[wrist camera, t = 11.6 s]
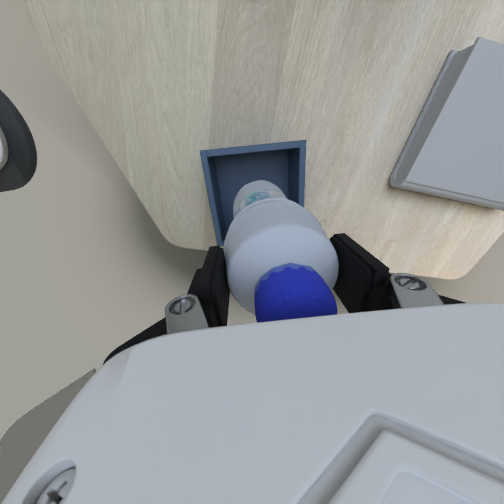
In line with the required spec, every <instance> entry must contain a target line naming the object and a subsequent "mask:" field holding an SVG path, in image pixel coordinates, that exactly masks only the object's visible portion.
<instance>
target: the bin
mask: <svg viewBox="0 0 504 504" xmlns="http://www.w3.org/2000/svg"><path fill="white" fill-rule="evenodd" d="M200 155H201V160H202V166H203V171H204V176H205V182H206V187H207V192H208V197H209V203H210V208H211V213H212V218H213V224H214V229H215V234H216V239H217V245H218V246H224V243H225V238H226V235H227V232H228V230H229V227H230V225H231V223H232V221H233V220H234V214H233V206H234V201H235V198H236V196H237V194H238V192H239V191H240V189H241V188H242V187H243V186H244V185H246V184H248V183H251V182H253V181H258V180H264V181H268V182H271V183H272V184H274V185H276V186H277V187H278V188H279V189H280V190H281V191H282V192H283V193H284V195H285V196H286V198H287V199H288V200H291V201H293V202H295V203H297V204H299V205H300V206H302V207H304V187H305V158H306V140H300V141H290V142H280V143H270V144H261V145H251V146H241V147H231V148H221V149H211V150H201V151H200Z"/></svg>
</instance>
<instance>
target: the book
mask: <svg viewBox="0 0 504 504" xmlns="http://www.w3.org/2000/svg"><path fill="white" fill-rule="evenodd" d="M390 185H391V186H393V187H396V188H401V189H406V190H410V191H415V192H420V193H424V194H429V195H433V196H438V197H443V198H447V199H452V200H457V201H461V202H466V203H470V204H475V205H480V206H484V207H489V208H494V209H498V210H503V211H504V45H502V44H499V43H497V42H494V41H491V40H488V39H485V38H482V37H478V38H477V39H476V41H475V43H474V45H472V46H470V47H468V48H466V49H464V50H462V51H456V50H452V51H450V53H449V55H448V57H447V60H446V62H445V64H444V66H443V68H442V70H441V72H440V74H439V76H438V78H437V80H436V82H435V84H434V87H433V89H432V91H431V93H430V95H429V97H428V99H427V101H426V103H425V105H424V107H423V109H422V111H421V113H420V116H419V118H418V120H417V122H416V124H415V126H414V128H413V130H412V132H411V134H410V136H409V138H408V140H407V143H406V145H405V147H404V149H403V151H402V153H401V155H400V157H399V159H398V161H397V163H396V165H395V167H394V169H393V172H392V174H391V176H390Z"/></svg>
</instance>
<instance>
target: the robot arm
mask: <svg viewBox="0 0 504 504" xmlns="http://www.w3.org/2000/svg"><path fill="white" fill-rule="evenodd" d="M7 159H8V145H7V141H6V138H5V135H4V133H3V131H2V129H1V127H0V170H1V169H2V168H3V167H4V166H5V164H6V162H7ZM330 242H331V243H332V245H333V247H334V249H335V251H336V254H337V257H338V263H339V269H338V277H337V280H336V283H335V285H334V287H333V290H334V291H335V293H336V294H337V296H338V297H339V299H340V300H341V302H342V303H343V305H344V306H345V308H346V309H347V311H348V312H349V313H347V314H337V315H327V316H317V317H307V318H297V319H287V320H278V321H268V322H259V323H250V324H240V325H231V326H227V318H228V306H229V296H230V288H229V285H228V281H227V272H226V261H225V255H224V250H223V248H220V246H212V247H209V250H208V253H207V256H206V259H205V262H204V265H203V267H202V269H197V270H196V273H195V275H194V278H193V280H192V283H191V285H190V288H189V290H188V293H187V294H185V295H181V296H178V297H176V298H174V299H173V300H171V301H170V302H169V303H168V304H167V306H166V307H165V318H164V319H162V320H160V321H158V322H157V323H155V324H154V325H152V326H151V327H149V328H147V329H146V330H144V331H143V332H141V333H140V334H138V335H136V336H135V337H133V338H132V339H130V340H128V341H127V342H125V343H124V344H122V345H121V346H119V347H118V348H116V349H115V350H114V351H113V352H112V353H110V355H109V356H108V357H107V358H106V360H105V361H104V363H103V365H102V366H101V367H100V368H99V369H98V371H96V370H95V369H93V370H91V371H90V372H88V373H87V374H85V375H84V376H82V377H81V378H79V379H78V380H76V381H75V382H73V383H72V384H70V385H69V386H67V387H66V388H64V389H63V390H61V391H59V392H58V393H57V394H55V395H53V396H52V397H50V398H49V399H47V400H46V401H45V402H43V403H41V404H40V405H38V406H37V407H35V408H34V409H32V410H31V411H29V412H28V413H26V414H25V415H24V416H22V417H21V418H20V419H18V420H17V421H16V422H15V423H14V424H13V425H12V426H11V427H10V428H9V430H8V431H7V432H6V434H5V435H4V436H3V438H2V439H1V441H0V504H504V304H497V303H465V302H461V301H458V300H454V299H451V298H448V297H444V296H440V295H438V294H437V293H436V292H435V290H434V289H433V287H432V286H431V284H430V283H429V282H428V281H426V280H425V279H423V278H420V277H418V276H416V275H412V274H407V273H396V274H393V275H391V274H390V273H388V272H389V268H388V267H387V266H386V265H384V264H383V263H382V262H380V261H379V260H378V259H377V258H375V257H374V256H373V255H372V254H370V253H369V252H368V251H366V250H365V249H364V248H363V247H361V246H360V245H359V244H358V243H356V242H355V241H354V240H352V239H351V238H350V237H349V236H347V235H346V234H345V233H342V234H334V235H333V237H331V238H330Z"/></svg>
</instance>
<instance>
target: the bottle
mask: <svg viewBox="0 0 504 504" xmlns="http://www.w3.org/2000/svg"><path fill="white" fill-rule="evenodd" d="M233 214H234V220H233V221H232V223H231V225H230V227H229V230H228V232H227V235H226V238H225V243H224V255H225V261H226V272H227V281H228V285H229V288H230V291H231V293H232V295H233V297H234V298H235V300H236V301H237V302H238V303H239V304H240V306H242V307H243V308H244V309H246V310H247V311H249V312H251V313H253V314H255V316H256V320H257V323H259V322H268V321H278V320H287V319H297V318H307V317H317V316H327V315H337V305H336V301H335V298H334V296H333V294H332V292H331V291H332V289H333V287H334V285H335V283H336V280H337V277H338V269H339V263H338V257H337V254H336V251H335V249H334V247H333V245H332V243H331V242H330V240H329V239H328V237H327V235H326V234H325V232H324V231H323V229H322V226H321V224H320V223H319V221H318V220H317V218H316V217H315V216H314V215H313V214H312V213H311V212H310V211H308V210H307V209H305V208H304V207H302V206H300V205H299V204H297V203H295V202H293V201H291V200H288V199H287V198H286V196H285V195H284V193H283V192H282V191H281V190H280V189H279V188H278V187H277V186H276V185H274V184H272V183H271V182H268V181H264V180H258V181H253V182H251V183H248V184H246V185H244V186H243V187H242V188H241V189H240V191H239V192H238V194H237V196H236V198H235V201H234V206H233Z"/></svg>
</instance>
